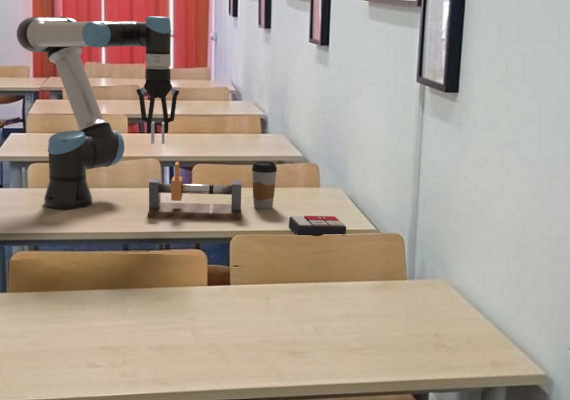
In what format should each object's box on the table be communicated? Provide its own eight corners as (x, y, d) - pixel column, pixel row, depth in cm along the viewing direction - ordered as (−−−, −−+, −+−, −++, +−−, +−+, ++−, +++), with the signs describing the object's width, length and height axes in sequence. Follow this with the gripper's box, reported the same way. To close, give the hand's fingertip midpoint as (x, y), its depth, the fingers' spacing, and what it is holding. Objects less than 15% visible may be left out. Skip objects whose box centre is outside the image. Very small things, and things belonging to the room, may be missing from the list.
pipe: (149, 209, 259) (149, 182, 257) (151, 205, 265) (151, 178, 263) (240, 212, 261) (241, 184, 259) (240, 207, 266) (241, 180, 264)
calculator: (347, 224, 244) (298, 223, 240) (345, 238, 245) (297, 237, 241) (335, 215, 255) (289, 214, 251) (334, 228, 256) (288, 227, 252)
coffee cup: (279, 206, 276) (281, 162, 272) (268, 211, 269) (270, 166, 265) (257, 203, 279) (259, 160, 276) (246, 208, 272) (247, 163, 268)
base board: (147, 217, 256) (147, 212, 255) (152, 206, 269) (152, 202, 269) (240, 220, 257) (240, 215, 257) (240, 208, 271) (240, 204, 270)
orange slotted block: (171, 200, 258) (171, 165, 256) (172, 195, 265) (173, 161, 262) (180, 200, 259) (181, 165, 256) (182, 196, 265) (182, 161, 262)
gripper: (130, 67, 248) (131, 144, 253) (182, 69, 248) (182, 146, 254) (134, 65, 255) (134, 140, 260) (184, 67, 256) (183, 141, 261)
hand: (158, 143), depth 257 cm, fingers open, 3 cm apart
